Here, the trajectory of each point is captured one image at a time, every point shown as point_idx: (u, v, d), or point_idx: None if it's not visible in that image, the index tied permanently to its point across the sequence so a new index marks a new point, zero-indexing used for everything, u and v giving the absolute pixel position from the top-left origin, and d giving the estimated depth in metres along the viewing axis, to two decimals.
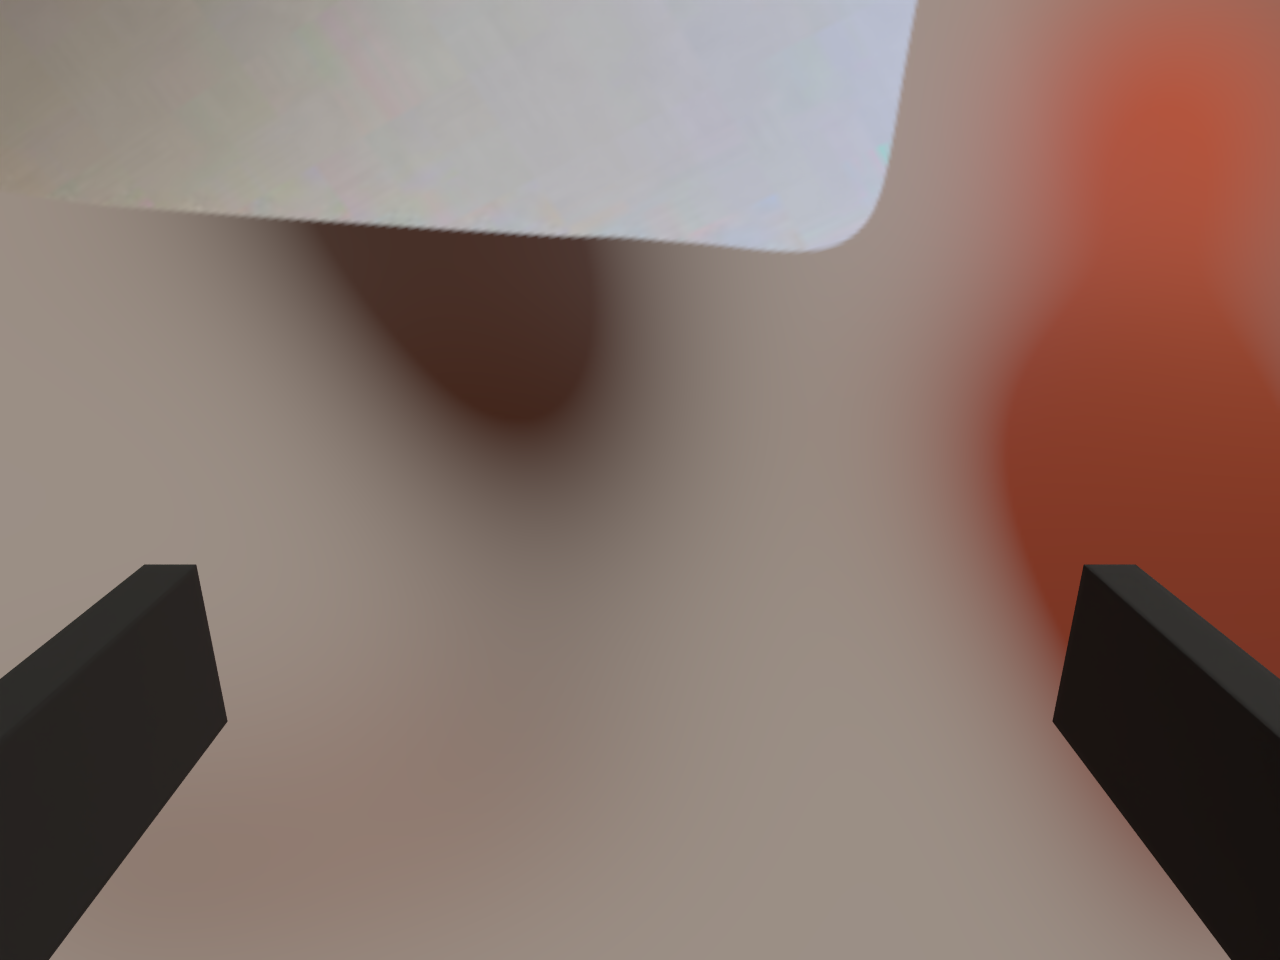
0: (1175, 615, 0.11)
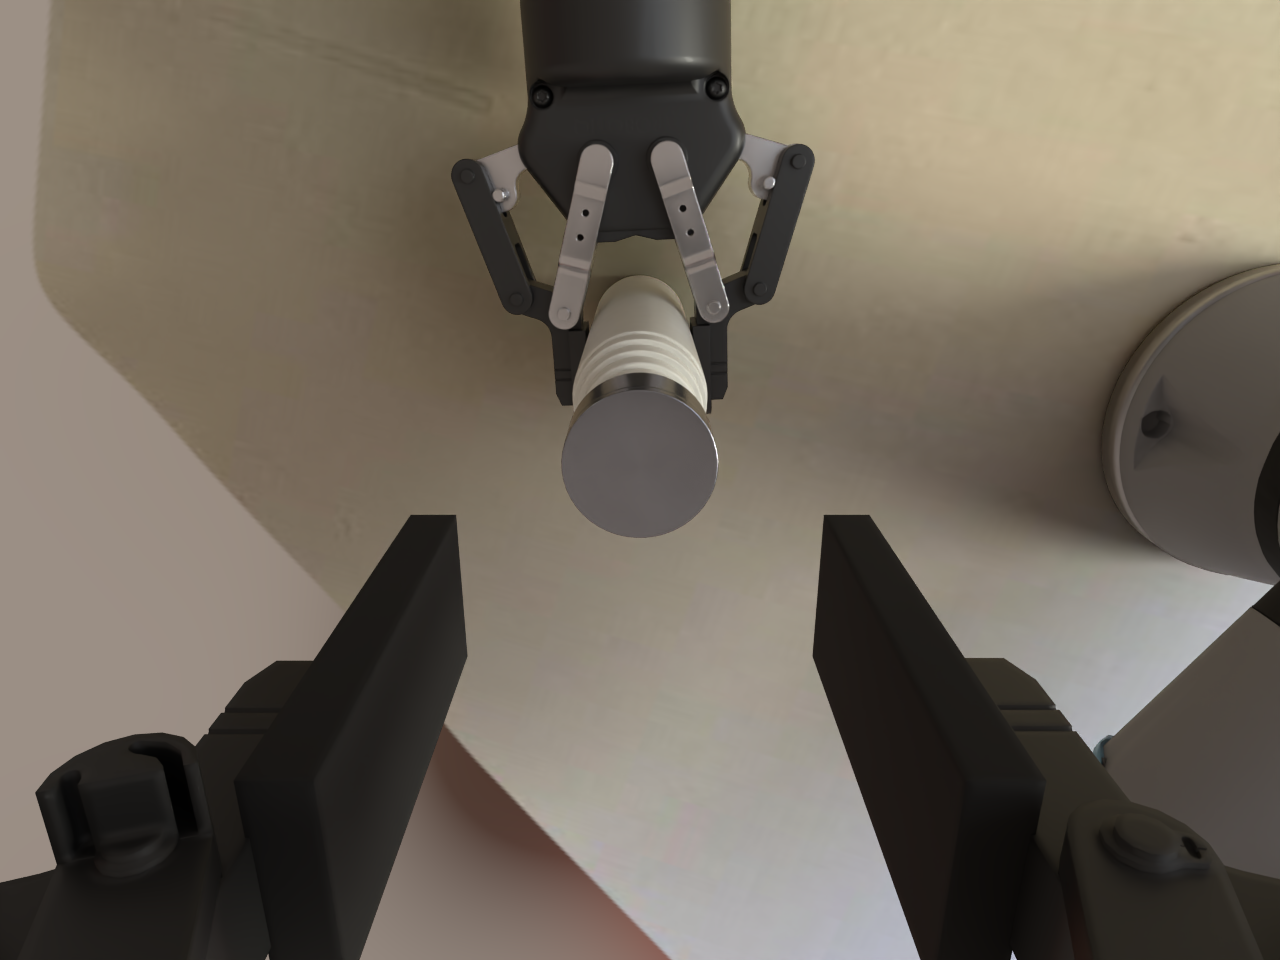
0: (874, 553, 0.13)
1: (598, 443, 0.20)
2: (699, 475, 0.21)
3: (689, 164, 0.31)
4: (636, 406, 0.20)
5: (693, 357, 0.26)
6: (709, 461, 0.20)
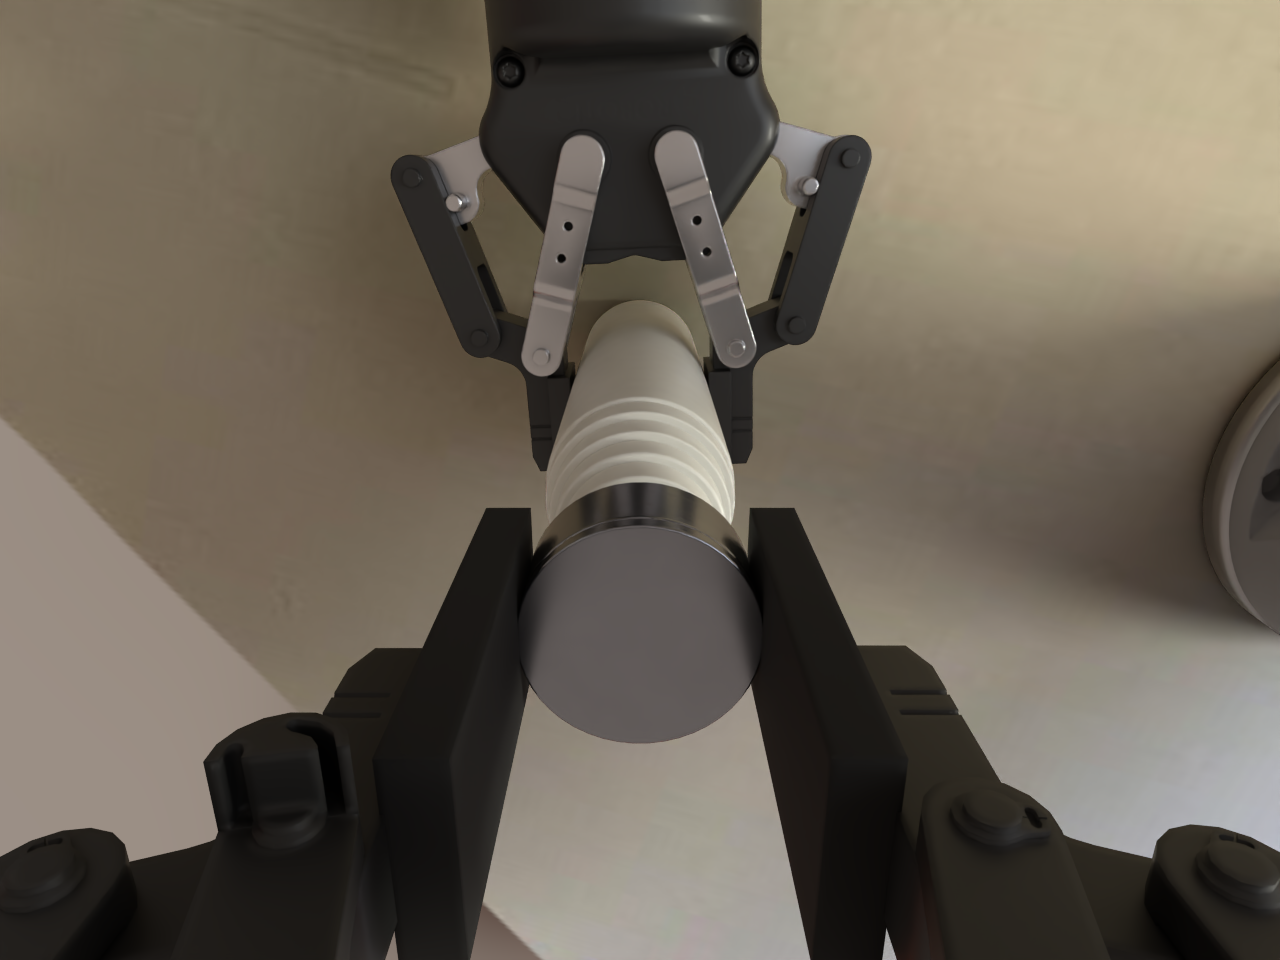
0: (790, 544, 0.13)
1: (573, 606, 0.13)
2: (734, 653, 0.13)
3: (706, 162, 0.24)
4: (634, 550, 0.12)
5: (715, 433, 0.19)
6: (750, 633, 0.13)
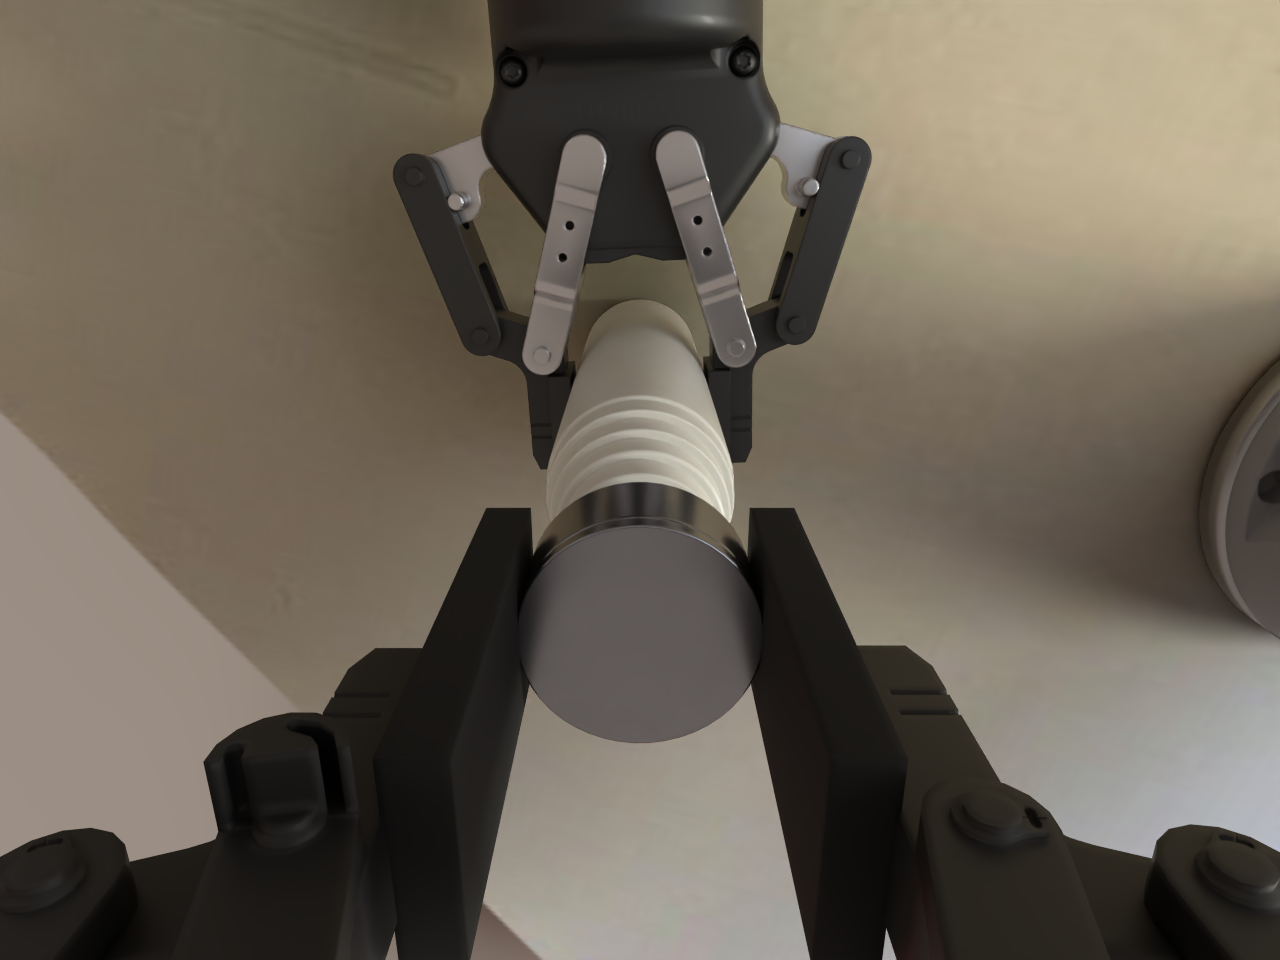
0: (790, 544, 0.13)
1: (629, 703, 0.13)
2: (616, 554, 0.12)
3: (707, 163, 0.24)
4: (552, 676, 0.13)
5: (715, 432, 0.19)
6: (587, 550, 0.12)
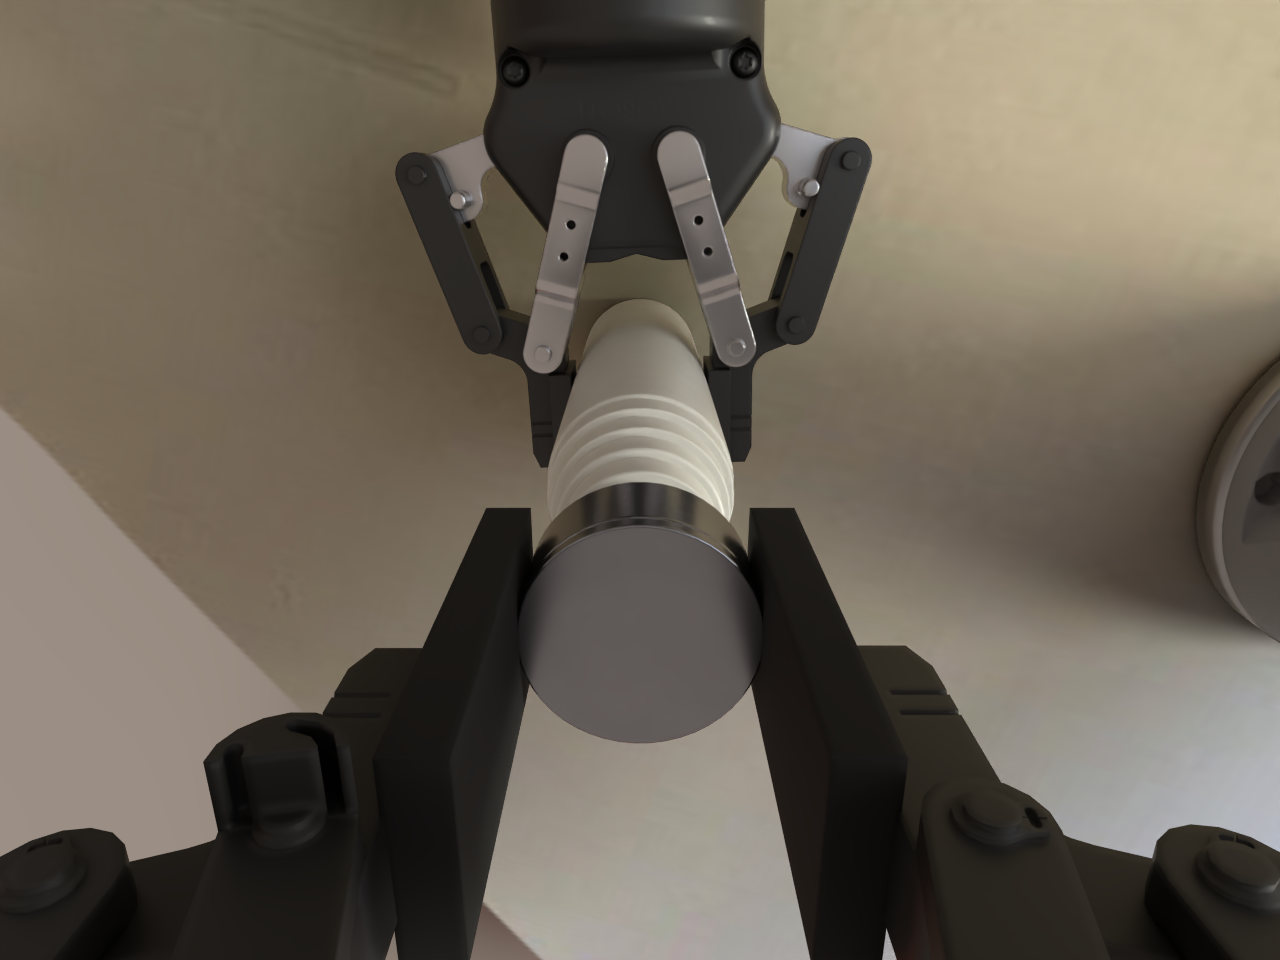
0: (790, 544, 0.13)
1: (714, 623, 0.13)
2: (564, 688, 0.13)
3: (708, 163, 0.24)
4: (712, 696, 0.13)
5: (715, 430, 0.19)
6: (571, 711, 0.13)
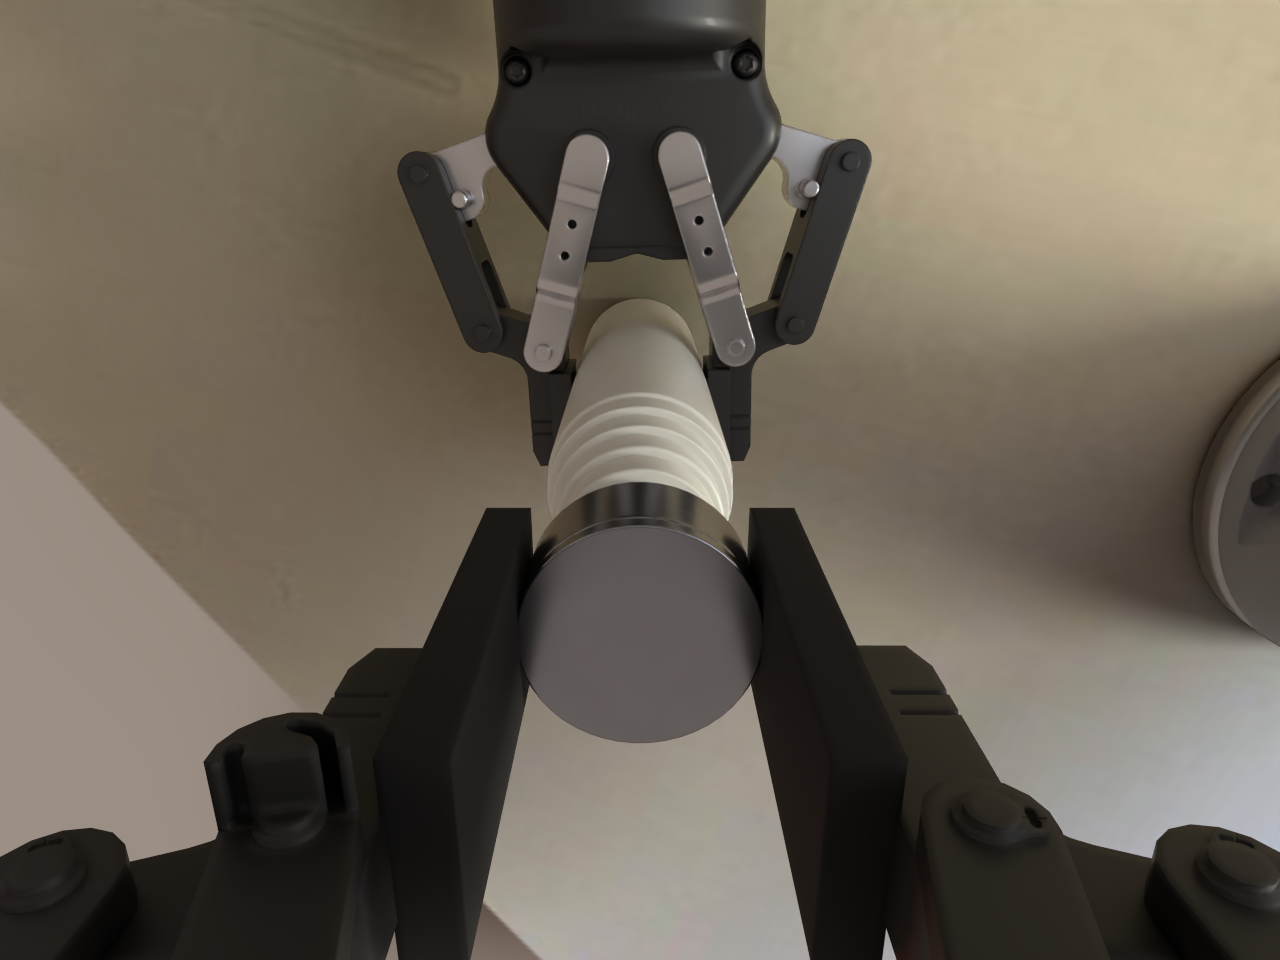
0: (791, 544, 0.13)
1: (592, 586, 0.13)
2: (720, 682, 0.13)
3: (709, 163, 0.24)
4: (673, 555, 0.12)
5: (714, 429, 0.19)
6: (743, 669, 0.13)
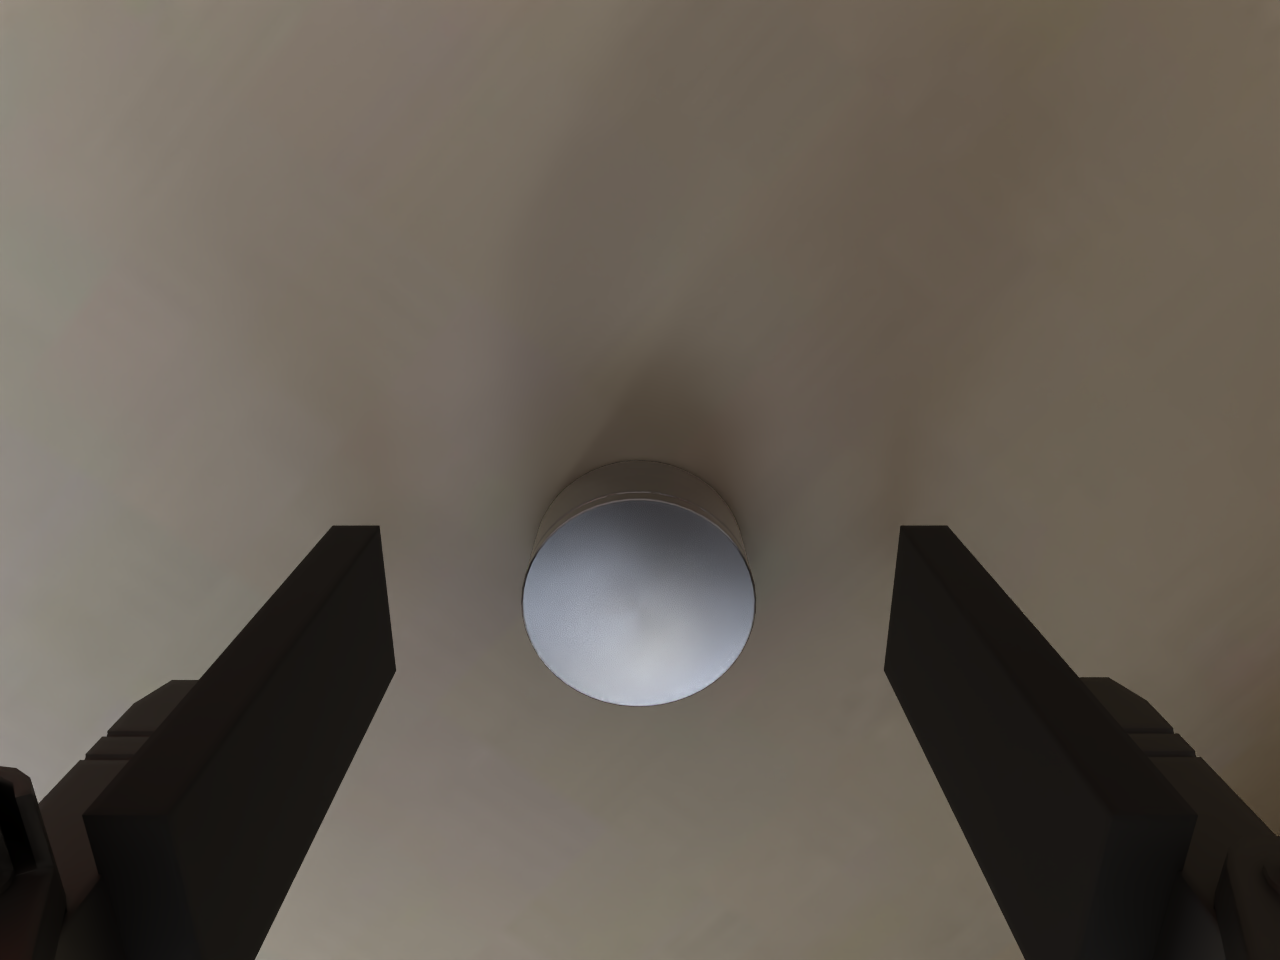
0: (961, 566, 0.12)
1: (594, 556, 0.13)
2: (714, 648, 0.14)
3: None
4: (669, 527, 0.13)
5: None
6: (736, 635, 0.14)
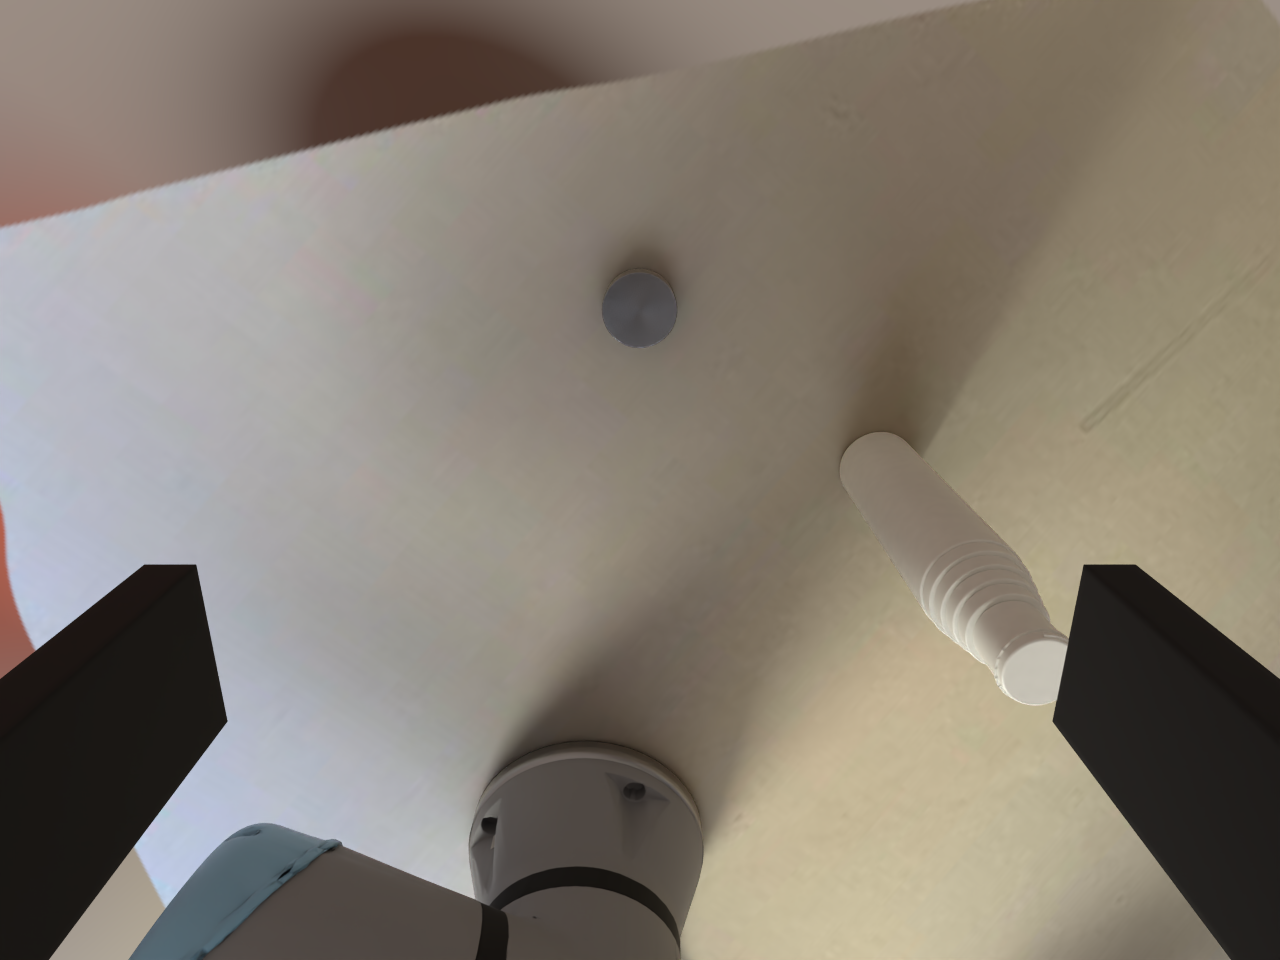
0: (1176, 615, 0.11)
1: (625, 292, 0.42)
2: (664, 325, 0.43)
3: None
4: (649, 282, 0.42)
5: None
6: (671, 320, 0.43)
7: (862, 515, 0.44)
